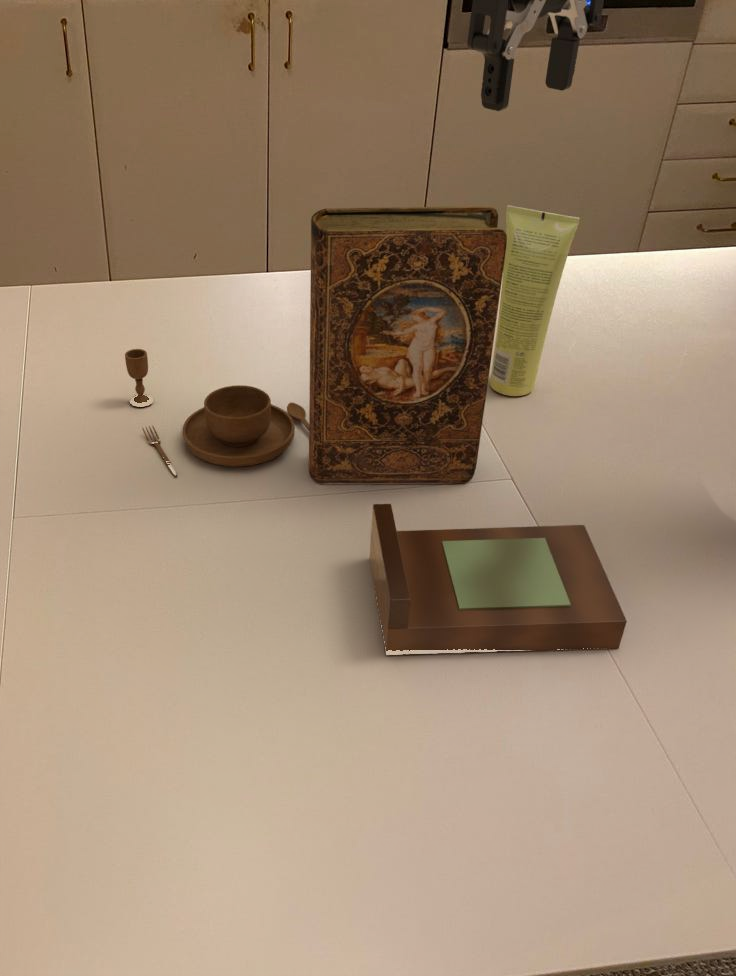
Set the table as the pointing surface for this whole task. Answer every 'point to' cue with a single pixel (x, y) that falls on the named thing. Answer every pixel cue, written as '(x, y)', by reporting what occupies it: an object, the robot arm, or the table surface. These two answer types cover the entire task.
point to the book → (401, 341)
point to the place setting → (228, 422)
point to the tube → (528, 294)
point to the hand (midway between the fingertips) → (526, 98)
